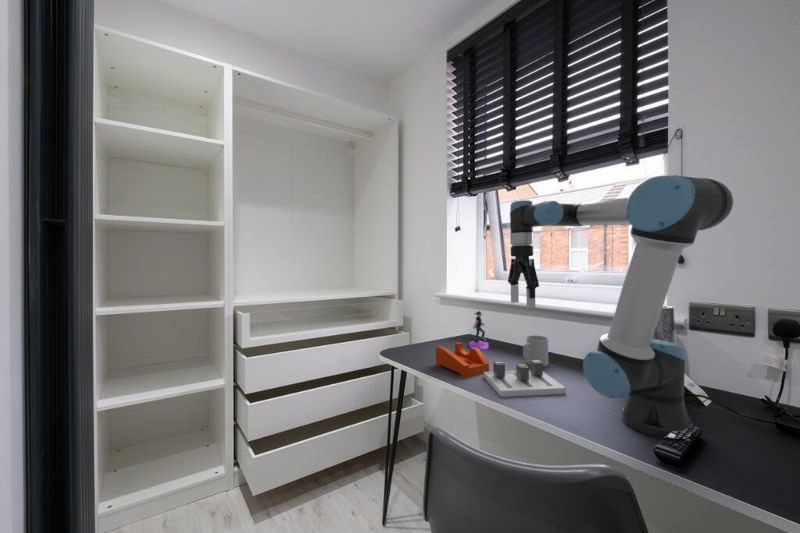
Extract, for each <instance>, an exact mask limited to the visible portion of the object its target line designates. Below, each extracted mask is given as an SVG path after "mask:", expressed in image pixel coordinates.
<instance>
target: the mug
mask: <svg viewBox="0 0 800 533" xmlns="http://www.w3.org/2000/svg"><path fill="white" fill-rule="evenodd" d="M522 354H523V358H524V359H525V360H526V364H527V365H529V366H530V360H539V361H541V362H542V363H543V368H544V367H548V366H549V338H548V337H547V336H542V335H528V336H526V343H525V344H524V345H523V349H522Z"/></svg>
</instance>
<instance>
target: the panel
mask: <svg viewBox="0 0 800 533" xmlns="http://www.w3.org/2000/svg"><path fill="white" fill-rule="evenodd" d="M483 378H484V379H485V380H486V382H487V383H488V384H489V385H490V386H491V388H493V390H494V391H495V392H496V393H497V394H498V396H499V397H500V398H507V397H525V396H529V397H531V396H549V395H566V394H567V392H566V391H567V389H566V388H567V387H565V385H562V384H561V383H560V382H558V381H557V380H555V379H554V378H552V377H551V376H550V375H548V374H547V373H546V372H544V371H543V376H534V375H533V374H532V373H530V369H529V380H528V381H520V380H519V379H518V378H517V377H516V370H505V377H498V378H497V377H496V376H495V375H494V374H493V371H489V372H484V373H483Z"/></svg>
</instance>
